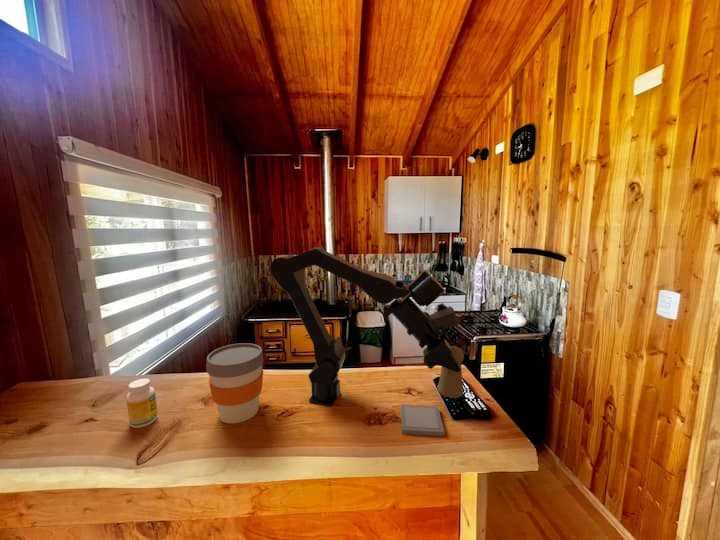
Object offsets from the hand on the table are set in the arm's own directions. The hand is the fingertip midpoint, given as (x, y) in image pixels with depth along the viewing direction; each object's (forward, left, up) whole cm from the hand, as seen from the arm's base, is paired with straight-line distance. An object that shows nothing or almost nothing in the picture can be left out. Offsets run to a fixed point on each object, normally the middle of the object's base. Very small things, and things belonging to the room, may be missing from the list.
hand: (457, 365), depth 71 cm
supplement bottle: (-70, -24, -12) cm, 75 cm away
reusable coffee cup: (-51, -15, -12) cm, 54 cm away
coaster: (-8, -7, -11) cm, 15 cm away
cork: (-1, 0, -7) cm, 7 cm away
